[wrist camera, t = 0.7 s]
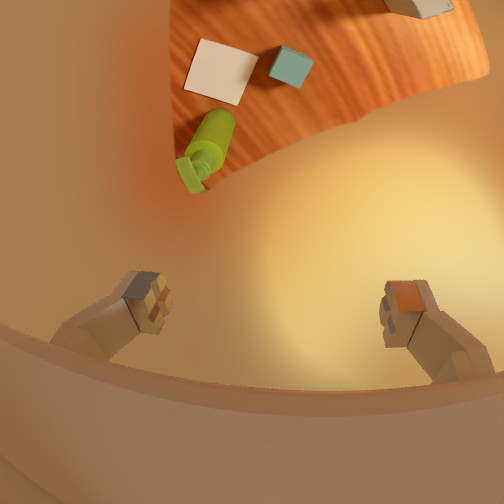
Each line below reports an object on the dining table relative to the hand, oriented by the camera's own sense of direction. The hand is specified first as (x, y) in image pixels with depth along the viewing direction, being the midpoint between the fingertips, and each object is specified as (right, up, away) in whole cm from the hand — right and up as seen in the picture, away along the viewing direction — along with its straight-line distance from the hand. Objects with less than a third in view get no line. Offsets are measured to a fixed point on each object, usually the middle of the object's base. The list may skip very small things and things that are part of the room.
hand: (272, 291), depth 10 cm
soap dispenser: (-7, +25, +38) cm, 46 cm away
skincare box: (+22, +41, +16) cm, 50 cm away
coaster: (-6, +31, +31) cm, 44 cm away
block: (+5, +32, +29) cm, 44 cm away
